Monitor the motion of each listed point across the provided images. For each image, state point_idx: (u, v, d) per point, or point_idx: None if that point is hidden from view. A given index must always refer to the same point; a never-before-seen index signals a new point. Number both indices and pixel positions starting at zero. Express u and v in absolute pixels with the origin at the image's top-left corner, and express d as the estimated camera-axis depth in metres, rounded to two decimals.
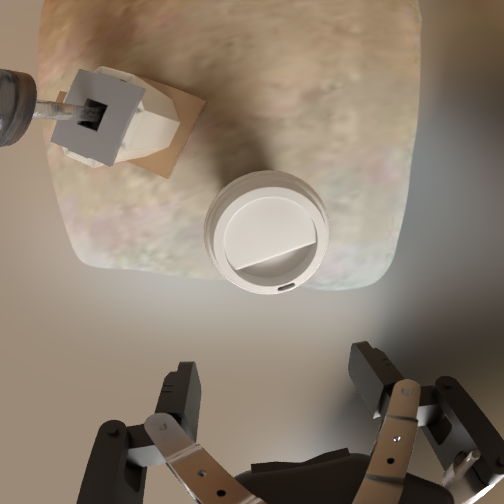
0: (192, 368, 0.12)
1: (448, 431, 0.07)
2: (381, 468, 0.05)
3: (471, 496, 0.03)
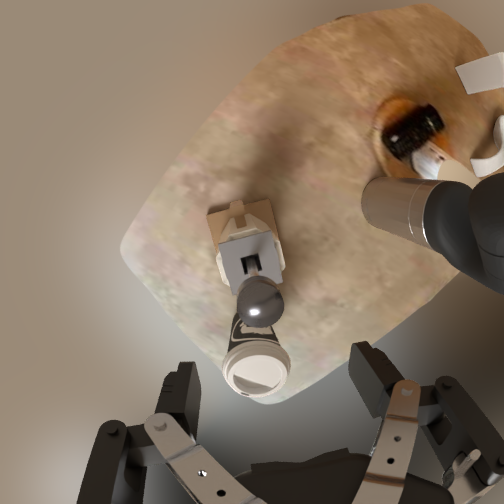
0: (192, 368, 0.12)
1: (448, 431, 0.07)
2: (381, 468, 0.05)
3: (470, 496, 0.03)
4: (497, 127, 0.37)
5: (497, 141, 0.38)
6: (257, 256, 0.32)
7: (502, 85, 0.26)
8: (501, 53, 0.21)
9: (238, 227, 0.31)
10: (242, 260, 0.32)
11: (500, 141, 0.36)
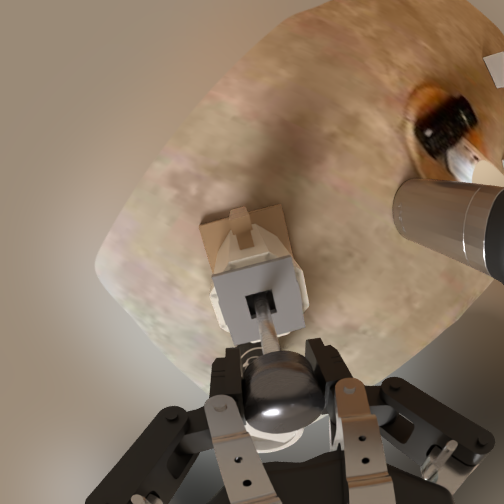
0: (239, 353, 0.13)
1: (407, 427, 0.08)
2: (360, 470, 0.05)
3: (462, 480, 0.04)
4: None
5: None
6: None
7: None
8: None
9: (241, 248, 0.22)
10: (247, 295, 0.22)
11: None
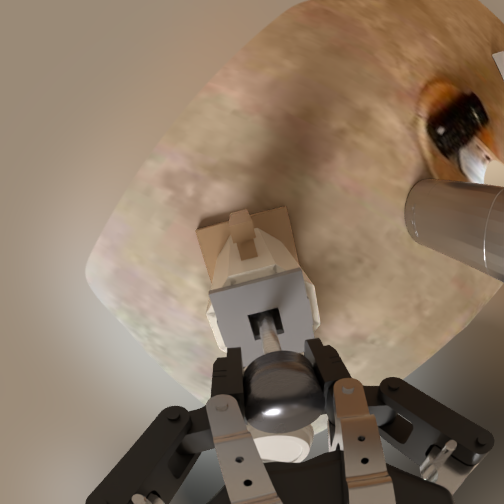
0: (240, 353, 0.13)
1: (406, 428, 0.08)
2: (359, 470, 0.05)
3: (462, 480, 0.04)
4: None
5: None
6: None
7: None
8: None
9: (243, 259, 0.19)
10: None
11: None
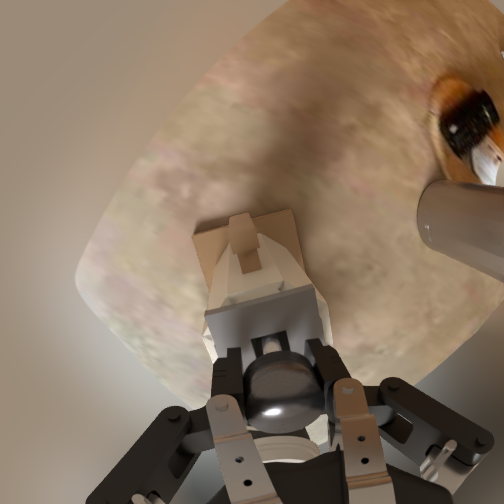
0: (240, 353, 0.13)
1: (406, 428, 0.08)
2: (359, 470, 0.05)
3: (462, 480, 0.04)
4: None
5: None
6: None
7: None
8: None
9: (245, 272, 0.16)
10: None
11: None
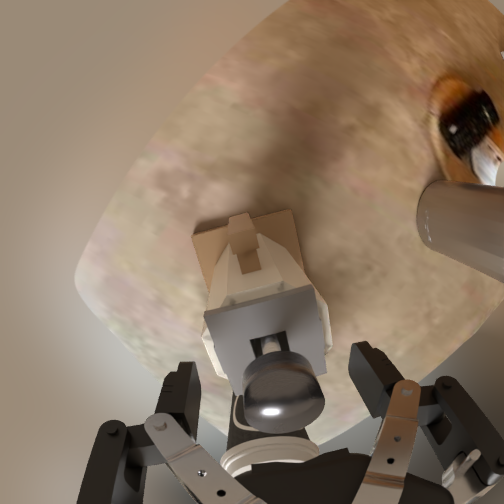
0: (192, 368, 0.12)
1: (448, 431, 0.07)
2: (381, 468, 0.05)
3: (471, 496, 0.03)
4: None
5: None
6: None
7: None
8: None
9: (244, 272, 0.16)
10: None
11: None
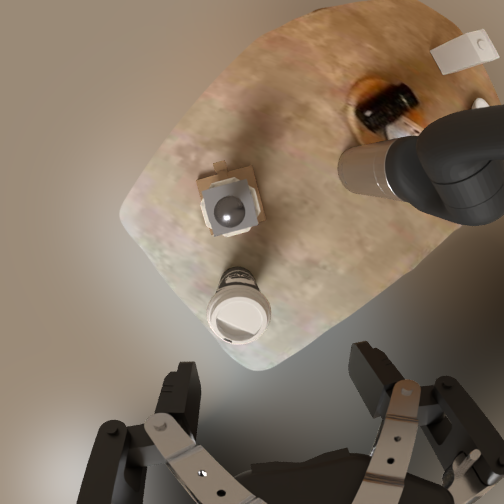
0: (192, 368, 0.12)
1: (448, 431, 0.07)
2: (381, 468, 0.05)
3: (471, 496, 0.03)
4: (473, 108, 0.41)
5: None
6: None
7: (473, 62, 0.30)
8: (470, 33, 0.25)
9: (220, 180, 0.36)
10: None
11: None
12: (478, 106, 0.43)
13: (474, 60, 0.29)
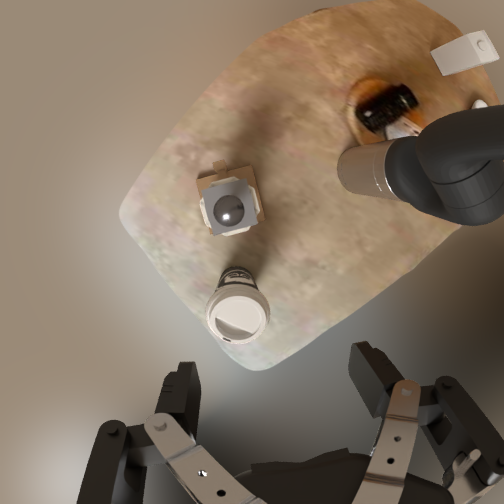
0: (192, 368, 0.12)
1: (448, 431, 0.07)
2: (381, 468, 0.05)
3: (471, 496, 0.03)
4: None
5: None
6: None
7: (473, 63, 0.30)
8: (470, 34, 0.25)
9: (220, 179, 0.36)
10: None
11: None
12: None
13: (474, 61, 0.30)
